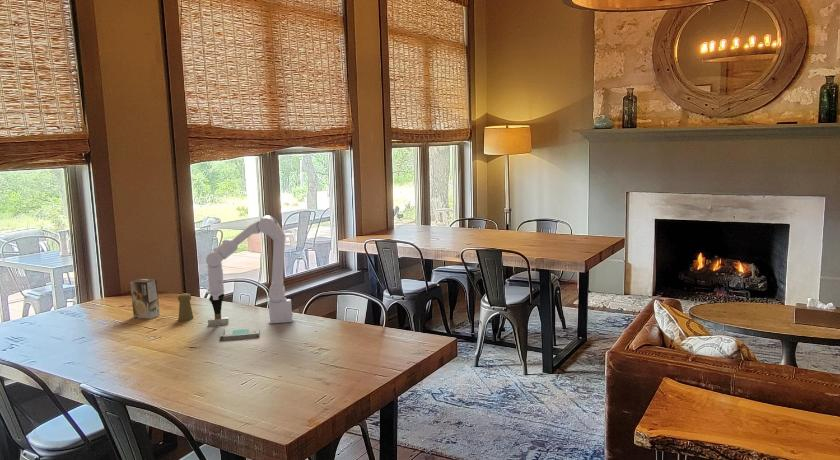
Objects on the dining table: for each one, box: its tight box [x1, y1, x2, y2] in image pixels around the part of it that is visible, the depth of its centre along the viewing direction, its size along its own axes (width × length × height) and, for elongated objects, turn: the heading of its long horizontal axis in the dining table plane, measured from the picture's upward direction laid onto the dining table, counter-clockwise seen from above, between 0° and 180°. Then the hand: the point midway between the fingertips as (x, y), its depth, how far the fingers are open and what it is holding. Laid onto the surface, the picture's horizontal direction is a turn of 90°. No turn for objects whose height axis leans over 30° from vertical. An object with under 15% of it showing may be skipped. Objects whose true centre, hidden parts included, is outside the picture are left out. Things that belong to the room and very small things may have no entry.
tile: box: [231, 328, 250, 335], centre depth 248 cm, size 6×6×2 cm
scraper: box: [207, 312, 230, 327], centre depth 261 cm, size 8×2×8 cm, turn 104°
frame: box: [219, 325, 260, 342], centre depth 247 cm, size 14×10×2 cm
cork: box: [177, 292, 194, 322], centre depth 268 cm, size 6×6×11 cm
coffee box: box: [130, 278, 160, 320], centre depth 273 cm, size 9×6×16 cm
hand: (217, 312), depth 260 cm, fingers closed on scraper, 2 cm apart
